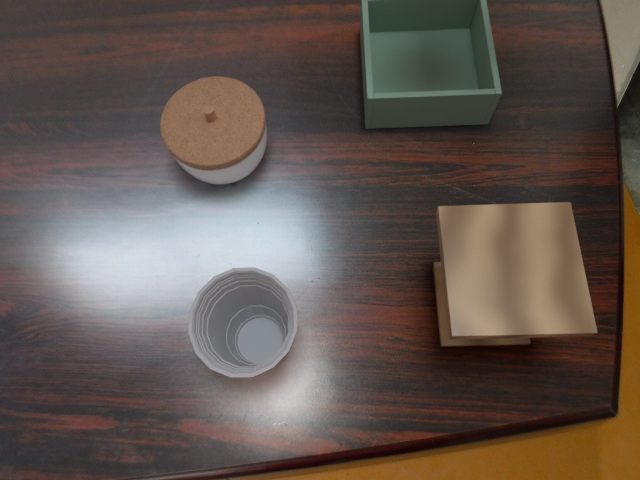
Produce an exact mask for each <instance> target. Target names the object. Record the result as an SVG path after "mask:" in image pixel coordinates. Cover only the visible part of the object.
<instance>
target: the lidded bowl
mask: <svg viewBox="0 0 640 480" xmlns="http://www.w3.org/2000/svg"><path fill="white" fill-rule="evenodd" d="M266 117H267V115H266V110H265V107H264V104H263V101H262V99H261V97H260V96H259V95H258V93H257V92H256V91H255V90H254V88H252V87H251V86H249V85H248V84H247V83H245V82H243V81H241V80H239V79H236V78H233V77H229V76H228V77H227V76H219V75H218V76H217V75H216V76H215V75H214V76H206V77H201V78H198V79H196V80H193V81H191V82H188V83H187V84H185V85H184V86H182V87H181V88H179V89H178V90H177V91H176V92H175V93H173V94H172V96H171V97H170V99H168V101H167V102H166V103H165V106H164V107H163V110H162V112H161V115H160V121H159V130H160V131H159V132H160V135H161V139H162V142H163V144H164V146H165V147H166V149H167V151H168V152H169V153H170V154H171V156H173V158H174V159H175V161H176V162H177V164H178V165H180V167H181V168H182V169H183V170H184V171H185V172H186V173H188V174H189V175H191V176H192V177H193V178H195V179H197V180H199V181H201V182H204V183H207V184H212V185H229V184H233V183H237V182H239V181H240V180H243V179H244V178H246V177H248V176H249V175H250V174H252V173H253V172H254V171H255V170H256V168H257V167H258V166H259V164H260V163H261V161H262V159H263V157H264V155H265V153H266V148H267V142H268V125H267V120H266V119H267V118H266Z"/></svg>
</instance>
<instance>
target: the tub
mask: <svg viewBox="0 0 640 480" xmlns="http://www.w3.org/2000/svg"><path fill="white" fill-rule="evenodd" d="M488 8H489V6H488V2H487V0H360V21H359V22H360V23H359V38H360V39H359V40H360V57H361V76H362V77H361V78H362V94H363V112H364V113H363V114H364V115H363V116H364V128H365V130H368V129H369V130H371V129H373V130H374V129H393V128H394V129H397V128H400V129H401V128H425V127H448V126H449V127H452V126H453V127H454V126H455V127H456V126H479V125H480V126H481V125H489V123H490V122H491V120H492V117H493V114H494V112H495V110H496V107H497V105H498V103H499V101H500V99H501V97H502V94H503V91H502V85H501V80H500V73H499V66H498V62H497V54H496V50H495V49H496V48H495V43H494V38H493V33H492V25H491V21H490V20H491V19H490V13H489V9H488Z"/></svg>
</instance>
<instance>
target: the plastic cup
mask: <svg viewBox="0 0 640 480" xmlns="http://www.w3.org/2000/svg"><path fill="white" fill-rule="evenodd" d="M297 332H298V307H297V304H296V302H295V300H294V298H293V296H292V293H291V291H290V288H289V287H287V286H286V285H285V284H284V283H283V282H282V281H281V280H280V279H279V278H278V277H277V276H276V275H275V274H274V273H271V272H268V271H265V270H263V269H260V268H257V267H253V266H252V267H249V266H248V267H232V268H230V269H227V270H226V271H223V272H221V273H219V274H217V275H214V276H212V278H211V279H210V280H209V281H207V282H206V284H204V286H203V287H202V288H200V289H199V290H198V292H197V293H196V296H195V298H194V300H193V302H192V305H191V307H190V309H189V311H188V331H187V334H188V337H189V341H190V342H191V345H192V348H193V350H194V353H195V355H196V356H197V357H198V358H199V359H200V360H201V361H202V362H203V363H204V364H205V366H207V367H208V369H209V370H211V371H214V372H216V373H219V374H222V375H223V376H225V377H228V378H253V377H256V376H258V375H260V374H263V373H265V372H267V371H269V370H271V369H273V368H275V367H276V366H277V365H278V363H279V362H280V361H281V360H282V359H283V358H284V357H285V356H286V355H287V354H288V353H289V352H290V350H291V348H292V345H293V342H294V340H295V337H296V334H297Z"/></svg>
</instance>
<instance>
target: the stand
mask: <svg viewBox="0 0 640 480" xmlns="http://www.w3.org/2000/svg"><path fill="white" fill-rule="evenodd" d="M435 218H436V228H437V237H438V239H437V240H438V246H439V247H438V248H439V257H440V261H434V262H433V264H432V271H433V272H432V273H433V282H434V292H435V302H436V312H437V314H436V315H437V323H438V332H439V333H438V335H439V343H440V347H441V348H444V347H446V348H447V347H484V346H485V347H486V346H487V347H488V346H528V345H530V344H531V343H532V342H531V339H532V338H571V337H572V338H574V337H575V338H576V337H592V336H594V335H596V334H598V327H597V324H596V318H595V314H594V308H593V304H592V299H591V294H590V289H589V284H588V278H587V274H586V270H585V264H584V261H583V255H582V251H581V245H580V241H579V235H578V231H577V226H576V221H575V216H574V211H573V207H572V202H571V201H558V202H528V203H527V202H525V203H523V202H522V203H521V202H520V203H495V204H494V203H493V204H490V203H489V204H465V205H464V204H461V205H459V204H458V205H437V208H436V211H435Z"/></svg>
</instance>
